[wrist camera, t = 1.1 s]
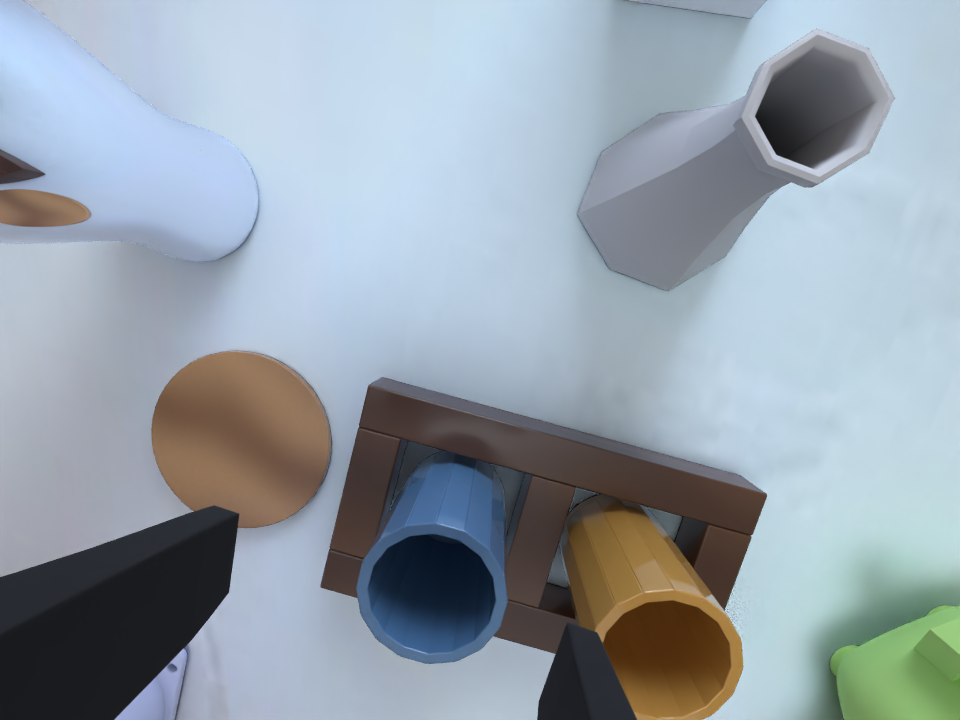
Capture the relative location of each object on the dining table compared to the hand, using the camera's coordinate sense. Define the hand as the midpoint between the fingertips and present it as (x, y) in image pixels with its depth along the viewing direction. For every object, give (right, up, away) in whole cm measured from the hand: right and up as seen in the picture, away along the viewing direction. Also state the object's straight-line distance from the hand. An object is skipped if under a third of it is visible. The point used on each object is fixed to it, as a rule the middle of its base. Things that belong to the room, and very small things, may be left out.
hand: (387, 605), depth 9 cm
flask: (+10, +12, +11) cm, 19 cm away
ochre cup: (+8, -4, +13) cm, 16 cm away
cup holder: (+4, -3, +13) cm, 14 cm away
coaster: (-10, +1, +13) cm, 17 cm away
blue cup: (+1, -2, +13) cm, 13 cm away
